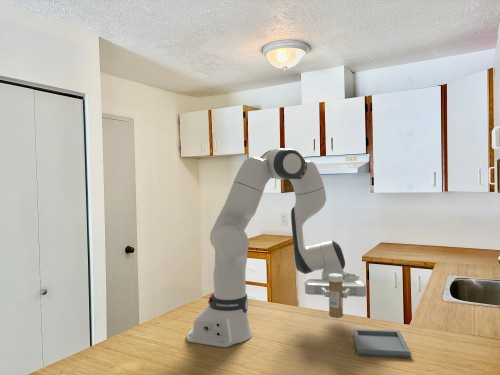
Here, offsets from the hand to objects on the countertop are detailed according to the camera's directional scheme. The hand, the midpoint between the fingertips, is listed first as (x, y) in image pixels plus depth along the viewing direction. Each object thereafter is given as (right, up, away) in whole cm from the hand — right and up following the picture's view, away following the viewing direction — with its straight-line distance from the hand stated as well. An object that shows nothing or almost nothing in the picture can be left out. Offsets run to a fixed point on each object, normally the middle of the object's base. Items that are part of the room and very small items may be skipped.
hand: (335, 295), depth 118 cm
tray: (+14, -16, -1) cm, 21 cm away
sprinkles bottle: (0, -7, +1) cm, 7 cm away
